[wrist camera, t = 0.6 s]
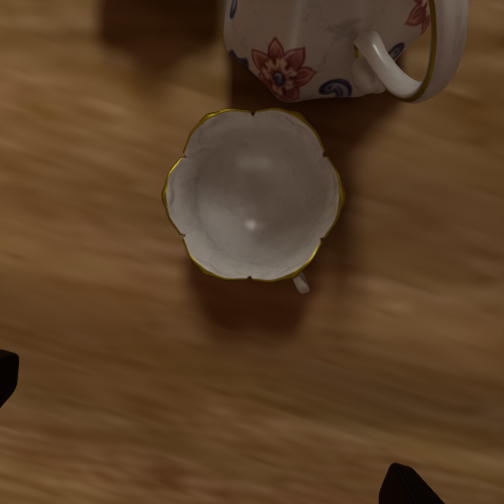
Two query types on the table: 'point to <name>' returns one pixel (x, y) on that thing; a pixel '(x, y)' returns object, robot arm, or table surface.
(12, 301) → the table surface
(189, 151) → the chinaware
